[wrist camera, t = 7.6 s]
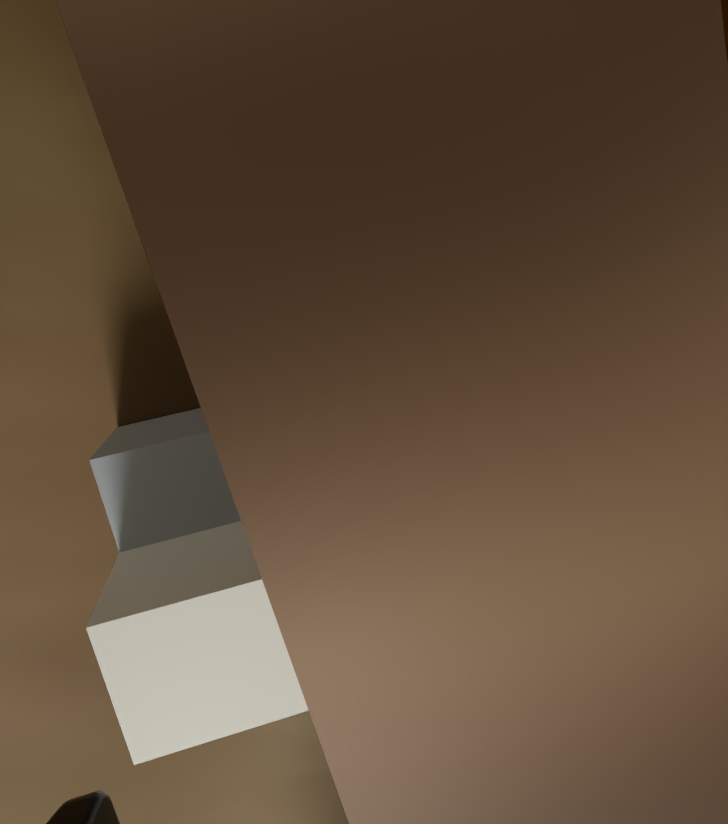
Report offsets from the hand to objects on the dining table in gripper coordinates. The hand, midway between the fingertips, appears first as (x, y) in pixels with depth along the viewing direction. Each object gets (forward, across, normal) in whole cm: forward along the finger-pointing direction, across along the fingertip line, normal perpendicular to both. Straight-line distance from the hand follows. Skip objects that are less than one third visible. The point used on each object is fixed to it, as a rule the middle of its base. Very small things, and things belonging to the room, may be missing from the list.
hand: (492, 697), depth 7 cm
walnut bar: (+2, 0, 0) cm, 2 cm away
